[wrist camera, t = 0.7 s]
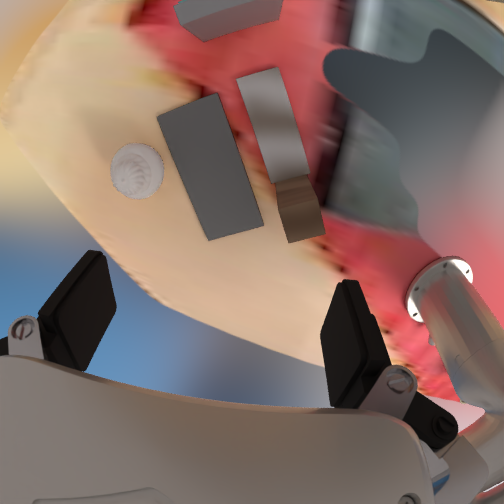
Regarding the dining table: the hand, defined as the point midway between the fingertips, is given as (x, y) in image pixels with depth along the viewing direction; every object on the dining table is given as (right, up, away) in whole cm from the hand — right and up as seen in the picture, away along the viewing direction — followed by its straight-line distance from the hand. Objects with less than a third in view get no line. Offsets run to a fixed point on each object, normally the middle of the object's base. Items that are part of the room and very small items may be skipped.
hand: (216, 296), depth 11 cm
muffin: (-10, +12, +20) cm, 25 cm away
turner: (+4, +13, +18) cm, 23 cm away
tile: (0, +25, +11) cm, 27 cm away
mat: (-3, +11, +20) cm, 23 cm away
